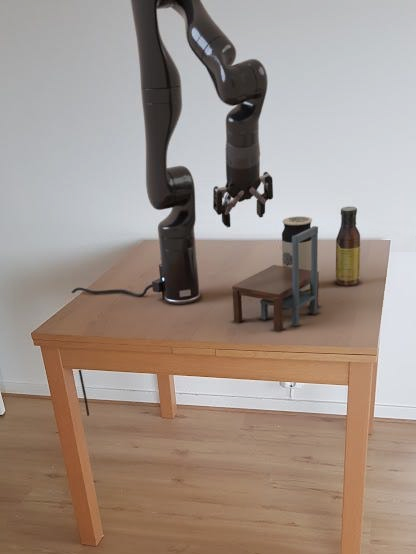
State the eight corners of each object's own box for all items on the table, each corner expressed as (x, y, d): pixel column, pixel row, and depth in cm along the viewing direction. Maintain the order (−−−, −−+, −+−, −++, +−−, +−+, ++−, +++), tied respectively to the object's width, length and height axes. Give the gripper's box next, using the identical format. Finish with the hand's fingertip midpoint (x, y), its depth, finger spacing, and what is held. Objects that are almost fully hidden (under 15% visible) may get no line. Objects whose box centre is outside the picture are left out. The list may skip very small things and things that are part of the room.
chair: (260, 319, 165) (257, 232, 154) (282, 306, 171) (281, 222, 161) (296, 326, 159) (296, 237, 149) (318, 312, 166) (319, 226, 155)
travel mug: (302, 280, 187) (302, 214, 178) (318, 288, 181) (319, 220, 172) (277, 286, 185) (275, 219, 176) (292, 294, 178) (292, 225, 169)
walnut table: (234, 321, 165) (232, 286, 160) (274, 298, 177) (273, 264, 172) (279, 331, 158) (278, 294, 153) (318, 306, 170) (318, 271, 165)
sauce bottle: (343, 277, 187) (345, 203, 177) (363, 281, 184) (366, 205, 174) (330, 284, 183) (332, 209, 173) (351, 288, 179) (354, 211, 169)
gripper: (264, 141, 153) (263, 204, 166) (206, 158, 151) (210, 220, 164) (279, 158, 149) (277, 220, 162) (219, 175, 146) (222, 237, 159)
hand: (243, 220), depth 163 cm, fingers open, 8 cm apart
